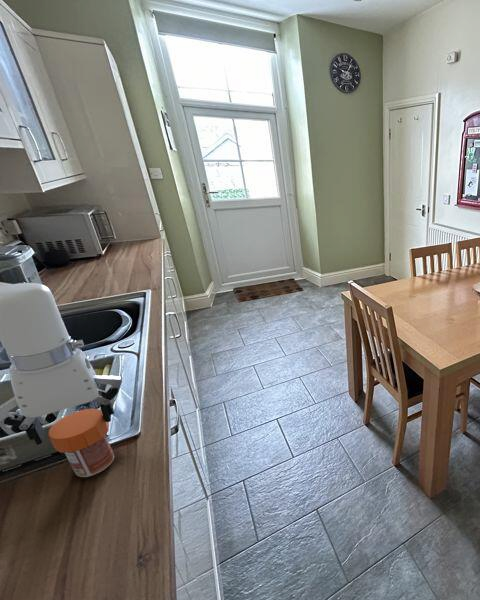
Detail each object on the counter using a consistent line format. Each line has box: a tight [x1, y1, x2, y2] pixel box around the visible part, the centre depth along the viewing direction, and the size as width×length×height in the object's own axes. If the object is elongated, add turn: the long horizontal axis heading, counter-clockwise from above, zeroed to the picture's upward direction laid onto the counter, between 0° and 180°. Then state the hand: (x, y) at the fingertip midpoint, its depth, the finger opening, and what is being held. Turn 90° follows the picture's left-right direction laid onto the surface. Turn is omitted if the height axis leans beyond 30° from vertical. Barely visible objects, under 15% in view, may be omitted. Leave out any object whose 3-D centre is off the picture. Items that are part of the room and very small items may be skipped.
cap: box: [48, 408, 110, 454], centre depth 64 cm, size 8×8×4 cm
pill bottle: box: [64, 434, 115, 478], centre depth 66 cm, size 6×6×11 cm
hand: (76, 428), depth 64 cm, fingers open, 9 cm apart
